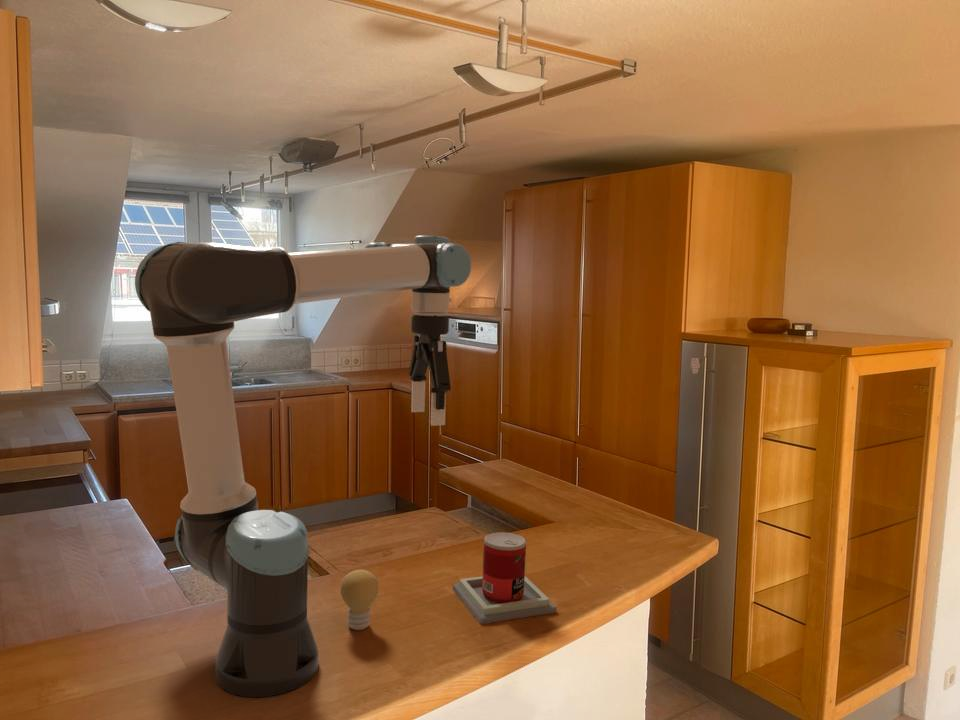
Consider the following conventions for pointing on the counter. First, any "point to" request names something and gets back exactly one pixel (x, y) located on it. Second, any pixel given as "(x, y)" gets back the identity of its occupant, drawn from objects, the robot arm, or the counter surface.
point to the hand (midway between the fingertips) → (427, 418)
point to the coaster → (493, 611)
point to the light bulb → (359, 597)
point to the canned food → (503, 567)
